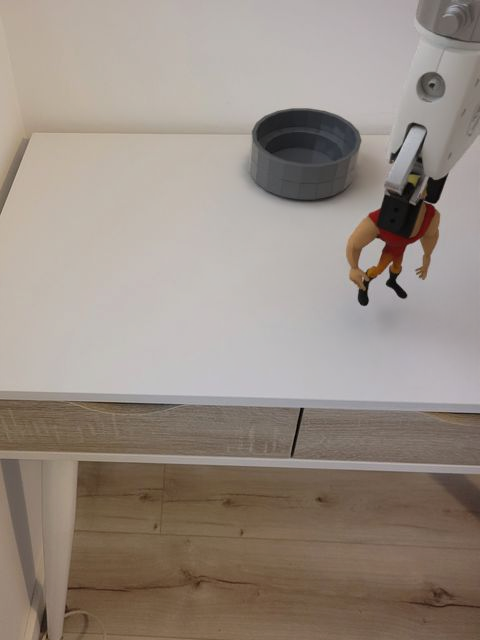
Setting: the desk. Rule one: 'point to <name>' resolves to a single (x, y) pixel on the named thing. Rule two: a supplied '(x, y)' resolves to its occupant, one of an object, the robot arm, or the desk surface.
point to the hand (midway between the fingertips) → (407, 212)
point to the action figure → (392, 247)
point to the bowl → (303, 153)
